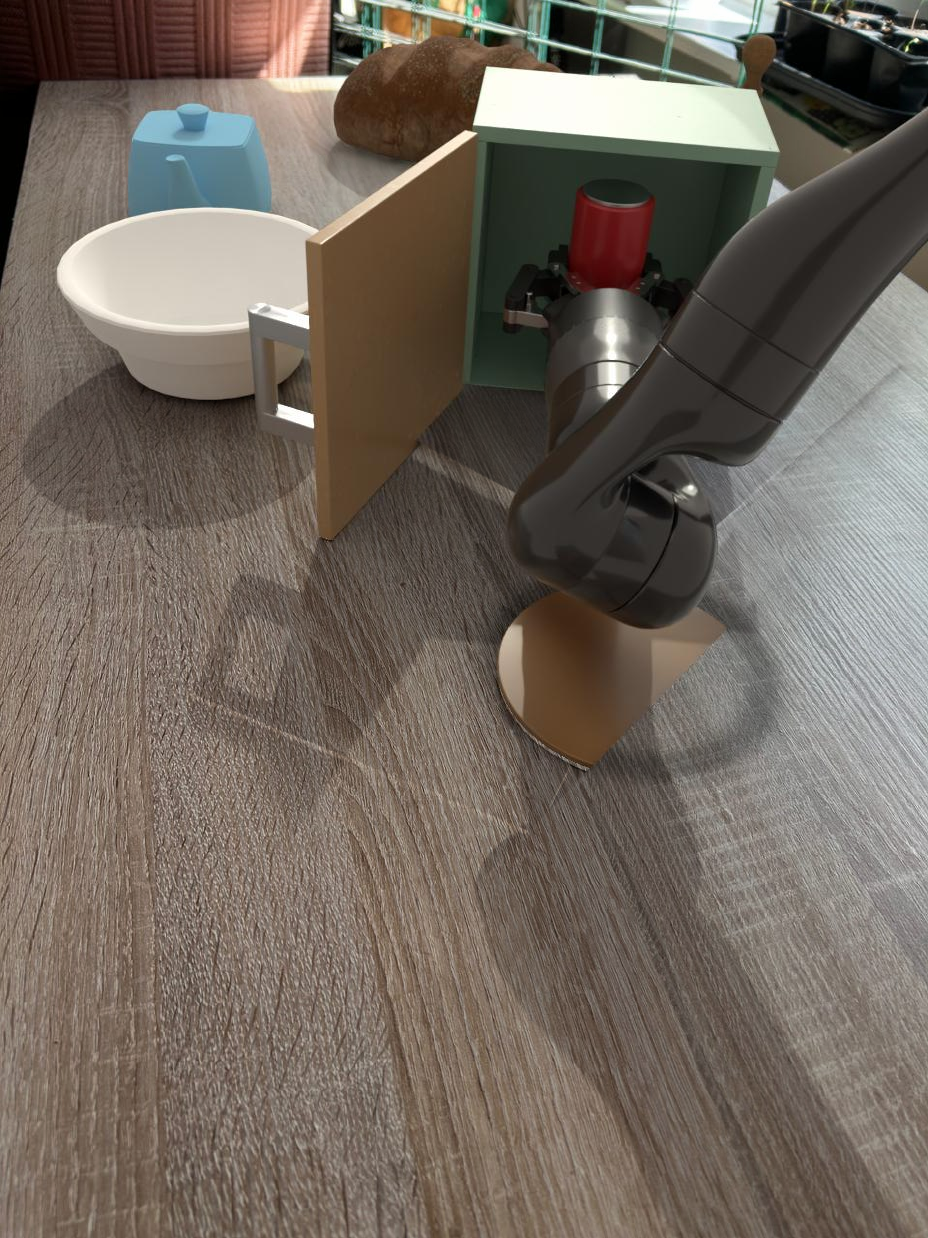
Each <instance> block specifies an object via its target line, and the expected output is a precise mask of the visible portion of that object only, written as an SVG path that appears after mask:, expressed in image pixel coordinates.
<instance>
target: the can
mask: <svg viewBox="0 0 928 1238" xmlns="http://www.w3.org/2000/svg"><path fill="white" fill-rule="evenodd" d="M655 202H656V201H655V197H654V196H653V195H652V194H651V193H650V192H649V191H648V190H647V189H646V188H645V187H643V186H641V185H639V184H636V183H633V182H630V181H625V180H619V179H598V180H593V181H590V182H588V183H586V184H585V185H583V186H581V187H580V188H579V189H578V190H577V192H576V200H575V208H574V215H573V223H572V231H571V239H570V247H569V254H568V270H569V271H570V272H578V273H579V275H580V276H581V277H582V278H583V279H584V280H585V281H586V282H587V283H588V285H589V286H594V287H595V288H617V289H623V290H624V289H628V288H629V287H630V286H631V285H632V284H633V283H634V282H635V281H636V280H637V279H638V278H639V277H640V278H642V275H643V269H644V264H645V258H646V253H647V247H648V242H649V236H650V230H651V225H652V219H653V214H654V208H655Z"/></svg>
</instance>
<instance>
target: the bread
mask: <svg viewBox="0 0 928 1238" xmlns="http://www.w3.org/2000/svg"><path fill="white" fill-rule="evenodd" d="M486 67H498V68H509V69H521V70H532V71H544V72H555V73H565V72H564V71H563V70H562V69H560V68H559V67H558V66H556V65H554V64H553V63H550V62H547V61H539V59H538V58H537V56H535V54H534V53H533V52H532V51H530V50H528V49H525V48H522V47H519V46H516V45H512V44H509V43H508V44H503V45H500V46H489V47H488V46H486V45H484V44H482V43H480V42H479V41H477V40H476V39H474V38H472V37H456V36H454V35H431V36H430V37H428V38H426V39H424V40H423V41H421V42H420V43H417V44H416V43H415V44H413V43H405V44H404V43H400V44H395V45H392V46H386V47H384V48H381V49H379V50H377V51H374V52H372V53H370V54H368V55H367V56H366V57H364V58H363V59H362V60H360V62H359V63H357V65H356V67H355V68H354V69H353V70H352V71H351V72H350V73H349V75H348V76H347V77H346V78H345V80H344V81H343V83H342V84H341V86H340V88H339V89H338V91H337V94H336V97H335V100H334V104H333V115H332V119H333V126H334V129H335V133H336V136H337V137H338V138H339V140H340V141H341V142H343V143H345V144H347V145H348V146H351V147H355V148H358V149H362V150H366V151H370V152H373V153H375V154H379V155H382V156H386V157H388V158H391V159H392V158H393V159H397V160H403V161H409V162H415V163H416V162H417V163H418V162H420V161H421V160H423V159H424V158H426V157H427V156H429V155H430V154H431V153H433V152H434V151H436V150H437V149H439V148H440V147H442V146H443V145H444V144H446V143H447V142H449V141H450V140H452V139H453V138H455V137H456V136H458V135H459V134H460V133H462V132H463V131H465V130H466V131H470V132H472V130H473V122H474V118H475V114H476V109H477V105H478V100H479V96H480V91H481V87H482V82H483V78H484V74H485V69H486Z"/></svg>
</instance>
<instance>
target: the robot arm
mask: <svg viewBox="0 0 928 1238" xmlns="http://www.w3.org/2000/svg"><path fill="white" fill-rule="evenodd" d="M927 243H928V106H926V107H925V108H924V109H923V110H922V111H920V112H919V113H917V114H916V115H915V116H913V117H912V118H910V119H908V120H907V121H906V122H904V123H903V124H901V125H900V126H898V127H897V128H896V129H894V130H893V131H891V132H890V133H888V134H887V135H886V136H884V137H883V138H880V139H879V140H877V141H875V142H874V143H872V144H871V145H869V146H867V147H866V148H864V149H863V150H861V151H859V152H858V153H856V154H854V155H853V156H851V157H849V158H848V159H846V160H844V161H842V162H841V163H838V164H837V165H835V166H833V167H831V168H830V169H828V170H826V171H825V172H823V173H821V174H818V175H816V176H815V177H813V178H811V179H810V180H808V181H806V182H805V183H803V184H801V185H800V186H798V187H796V188H795V189H793V190H791V191H789V192H788V193H785V194H784V195H783V196H781V197H779V198H778V199H776V200H774V201H773V202H772V203H770V204H768V205H767V207H766V208H765V209H763V210H762V211H760V212H759V213H758V214H757V215H755V216H754V217H753V218H752V219H750V220H749V221H748V222H747V223H746V224H744V225H743V226H742V227H741V228H740V229H739V230H738V231H737V232H736V233H735V234H734V235H733V236H732V237H731V238H730V239H729V240H728V241H727V242H726V243H725V245H724V246H723V247H722V248H721V249H720V250H719V251H718V253H717V254H716V255H715V257H714V258H713V259H712V261H711V262H710V263H709V265H708V266H707V267H706V269H705V270H704V272H703V273H702V275H701V276H700V278H699V279H698V281H697V282H696V284H695V285H693V284H692V282H691V281H690V280H689V279H686V278H676V279H675V280H674V283H673V282H669V281H667V280H665V275H664V274H663V273H662V265H661V262H660V261H659V260H656V259H653V256H652V253H651V252H647V253H646V258H645V264H644V269H643V275H642V278H640V277H639V278H638V279H637V280H636V281H635V282H634V283H633V284H632V285H631V286H630V287H629V288H628V289H624V290H623V289H617V288H595V287H594V286H589V285H588V283H587V282H586V281H585V280H584V279H583V278H582V277H581V276H580V275H579V273H578V272H570V271H569V270H568V249H569V245H564V244H559V249H558V250H551V251H550V252H549V255H548V264H547V268H546V269H543V270H539V267H538V266H537V265H534V264H524V265H522V267H521V269H520V270H519V272H518V274H517V276H516V277H515V279H514V281H513V283H512V284H511V286H510V288H509V289H508V291H507V293H506V295H505V304H504V314H503V326H502V330H503V331H504V332H505V333H508V334H516V333H519V332H520V330H521V328H522V326H524V327H528V326H532V327H537V328H540V329H541V333H542V335H543V336H544V337H545V338H546V339H547V361H546V378H545V379H544V391H543V392H544V402H545V407H546V412H547V427H546V429H547V430H546V431H547V433H546V456H545V457H543V459H542V460H540V462H539V463H538V464H537V465H535V467H534V468H532V469H531V471H530V472H529V473H528V474H527V476H526V477H525V478H524V479H523V481H522V482H521V483H520V485H519V486H518V488H517V490H516V492H515V494H514V495H513V498H512V499H511V502H510V504H509V508H508V511H507V514H506V520H505V531H504V533H505V535H504V537H505V544H506V550H507V552H508V554H509V557H510V559H511V560H512V562H513V564H514V565H515V566H516V567H517V568H518V569H519V570H520V571H522V572H523V573H524V574H526V575H527V576H528V577H530V578H533V579H534V580H535V581H538V582H540V583H542V584H544V585H546V586H548V587H550V588H551V589H554V590H556V591H560V592H562V593H564V594H566V595H568V596H570V597H572V598H574V599H576V600H578V601H580V602H582V603H584V604H585V605H587V606H589V607H591V608H593V609H595V610H597V611H600V612H602V613H603V614H605V615H607V616H609V617H611V618H613V619H615V620H617V621H619V622H621V623H623V624H626V625H628V626H632V627H635V628H638V629H647V630H655V629H660V628H665V627H668V626H671V625H673V624H675V623H677V622H679V621H681V620H682V619H684V618H685V617H687V616H688V615H689V614H690V613H691V612H692V611H693V610H694V609H695V608H696V607H698V605H700V603H702V601H703V599H704V598H705V596H706V594H707V593H708V591H709V588H710V586H711V583H712V580H713V578H714V575H715V572H716V568H717V562H718V555H719V553H718V552H719V540H718V538H719V537H718V529H717V524H716V519H715V516H714V513H713V510H712V507H711V506H710V502H709V500H708V498H707V496H706V494H705V491H704V490H703V488H702V486H701V484H700V482H699V480H698V479H697V477H696V476H695V473H694V472H693V469H692V468H691V466H690V464H689V462H688V460H687V458H686V457H688V458H693V459H696V460H701V461H704V462H708V463H712V464H714V465H719V466H723V467H731V468H738V467H739V468H740V467H744V466H746V465H748V464H750V463H752V462H753V461H754V460H756V458H758V457H759V456H760V455H761V454H762V453H763V451H765V450H766V448H767V446H768V445H769V444H770V442H772V440H773V439H774V438H775V436H776V435H777V433H778V432H779V431H780V429H781V428H782V426H783V424H784V421H787V420H788V419H789V417H790V415H791V414H792V413H793V411H794V410H795V409H796V407H797V406H798V405H799V403H800V402H801V401H802V399H803V398H804V397H805V395H806V394H807V392H808V391H809V390H810V389H811V388H812V386H813V384H814V383H815V381H816V380H817V379H818V377H819V376H820V375H821V373H822V372H823V371H824V369H825V368H826V366H827V365H828V364H829V362H830V361H831V359H832V358H833V357H834V355H835V354H836V352H838V350H839V349H840V347H841V346H842V344H843V343H844V342H845V340H846V338H847V337H848V336H849V335H850V333H851V332H852V331H853V330H854V328H855V327H856V326H857V325H858V323H859V322H860V321H861V320H862V318H863V317H864V316H865V314H866V313H867V312H868V310H870V308H871V307H872V305H874V303H876V301H877V300H878V299H879V297H880V296H881V295H882V294H883V293H884V291H886V289H888V287H889V285H890V284H891V283H892V282H893V281H894V280H895V279H896V277H897V276H898V275H899V274H900V273H901V272H902V271H903V270H904V268H906V266H907V265H909V263H910V262H911V261H912V260H913V259H914V257H916V255H917V254H918V253H919V252H920V251H921V250H922V249H923V248H924V247H925V246H926V244H927ZM543 296H544V299H545V300H546V302H547V303H548V304H547V305H546V306H545V307H544V309H541V308H539V307H538V306H537V302H536V297H543ZM659 307H662V308H666V309H668V315H669V317H670V319H671V321H670V319H669V317H668V316H667V315H666V314H664V313H663V312H661V311H660V310H658V309H659Z"/></svg>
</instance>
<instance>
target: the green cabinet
mask: <svg viewBox="0 0 928 1238" xmlns="http://www.w3.org/2000/svg"><path fill="white" fill-rule="evenodd" d="M472 132H475V133H478V144H477V160H476V176H475V191H474V207H473V223H472V238H471V254H470V269H469V285H468V301H467V316H466V332H465V348H464V363H463V379H462V385H463V384H464V385H475V386H486V387H494V388H495V387H496V388H506V389H517V390H528V391H539V392H544V379H545V378H546V361H547V339H546V338H545V337H544V336H543V335H542V333H541V329H540V328H537V327H532V326H528V327H524V326H522V328H521V330H520V332H519V333H516V334H508V333H505V332H504V331H503V330H502V326H503V314H504V304H505V295H506V293H507V291H508V289H509V288H510V286H511V284H512V283H513V281H514V279H515V277H516V276H517V274H518V272H519V270H520V269H521V267H522V265H524V264H534V265H537V266H538V267H539V270H543V269H546V268H547V264H548V255H549V252H550V251H551V250H558V249H559V244H564V245H569V247H570V239H571V231H572V223H573V215H574V208H575V200H576V192H577V190H578V189H579V188H580V187H581V186H583V185H585V184H586V183H588V182H590V181H593V180H598V179H619V180H625V181H630V182H633V183H636V184H639V185H641V186H643V187H645V188H646V189H647V190H648V191H649V192H650V193H651V194H652V195H653V196H654V197H655V201H656V202H655V208H654V214H653V219H652V225H651V230H650V236H649V242H648V247H647V252H651V253H652V256H653V259H656V260H659V261H660V262H661V265H662V273H663V274H664V275H665V280H667V281H669V282H673V283H674V280H675V279H676V278H686V279H689V280H690V281H691V282H692V284H693V285H695V284H696V282H697V281H698V279H699V278H700V276H701V275H702V273H703V272H704V270H705V269H706V267H707V266H708V265H709V263H710V262H711V261H712V259H713V258H714V257H715V255H716V254H717V253H718V251H719V250H720V249H721V248H722V247H723V246H724V245H725V243H726V242H727V241H728V240H729V239H730V238H731V237H732V236H733V235H734V234H735V233H736V232H737V231H738V230H739V229H740V228H741V227H742V226H743V225H744V224H746V223H747V222H748V221H749V220H750V219H752V218H753V217H754V216H755V215H757V214H758V213H759V212H760V211H762V210H763V209H765V208H766V207H768V202H769V197H770V195H771V191H772V188H773V183H774V179H775V175H776V171H777V166H778V163H779V158H780V156H781V151H780V148H779V146H778V143H777V140H776V138H775V135H774V133H773V130H772V128H771V125H770V122H769V120H768V117H767V114H766V111H765V109H764V107H763V104H762V102H761V98H760V99H759V96H758V94H757V91H756V90H750V89H739V87H737V88H736V87H725V86H715V85H714V86H713V85H704V84H703V85H702V84H690V83H679V82H670V81H669V82H667V81H659V80H658V81H657V80H647V79H633V78H622V77H615V78H613V76H612V77H610V76H600V75H588V74H577V73H566V72H564V73H555V72H544V71H532V70H521V69H509V68H498V67H486V69H485V74H484V78H483V82H482V87H481V91H480V96H479V100H478V105H477V109H476V114H475V118H474V122H473V130H472ZM568 254H569V249H568ZM536 302H537V306H538V307H539V308H541V309H544V307H545V306H546V305H547V304H548V303H547V302H546V300H545V299H544V296H543V297H536ZM658 310H660V311H661V312H663V313H664V314H666V315H667V316H668V317H669V315H668V309H666V308H662V307H659V309H658ZM669 319H670V317H669ZM670 321H671V319H670Z"/></svg>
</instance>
